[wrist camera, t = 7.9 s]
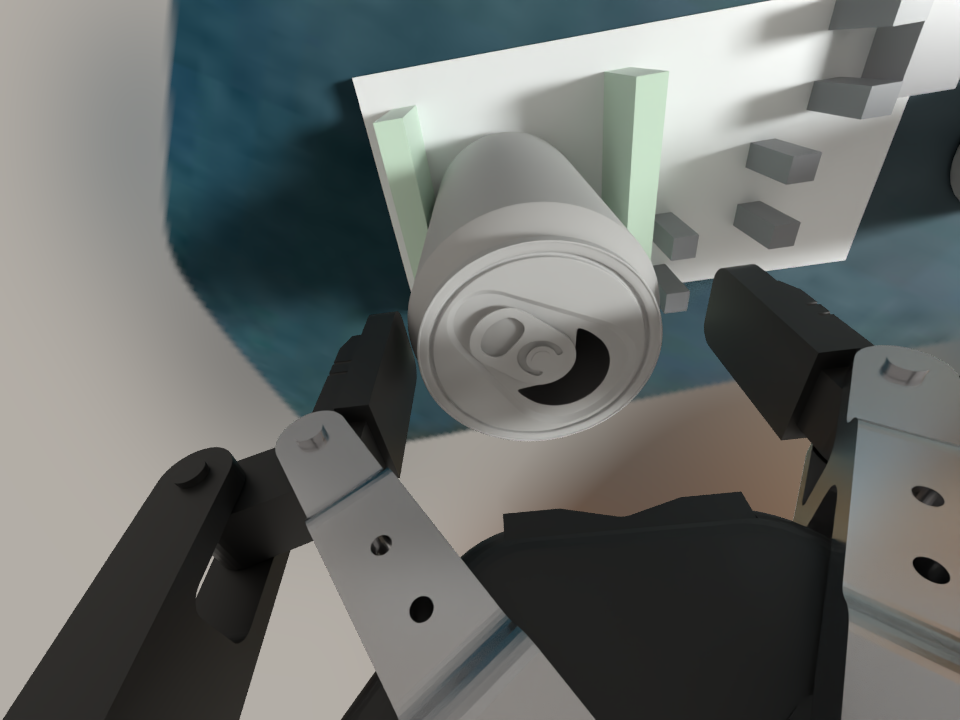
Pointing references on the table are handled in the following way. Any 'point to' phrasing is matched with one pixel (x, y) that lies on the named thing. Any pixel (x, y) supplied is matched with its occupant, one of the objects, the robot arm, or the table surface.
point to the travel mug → (956, 174)
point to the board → (708, 120)
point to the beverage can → (530, 296)
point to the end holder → (625, 158)
